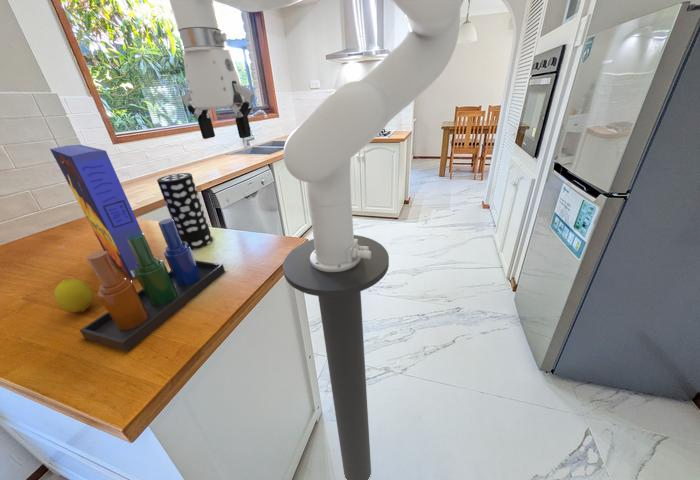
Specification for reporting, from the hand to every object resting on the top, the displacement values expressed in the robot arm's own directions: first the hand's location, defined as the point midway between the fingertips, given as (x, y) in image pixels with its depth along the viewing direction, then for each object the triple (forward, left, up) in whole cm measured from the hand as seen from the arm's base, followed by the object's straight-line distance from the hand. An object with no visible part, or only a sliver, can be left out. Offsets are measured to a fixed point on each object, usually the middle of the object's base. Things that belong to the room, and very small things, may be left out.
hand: (227, 137), depth 63 cm
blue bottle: (+9, +14, -30) cm, 34 cm away
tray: (+9, +21, -30) cm, 38 cm away
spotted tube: (+23, -3, -31) cm, 38 cm away
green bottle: (+9, +21, -30) cm, 37 cm away
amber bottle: (+9, +28, -30) cm, 42 cm away
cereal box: (+34, +10, -31) cm, 47 cm away
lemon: (+24, +28, -31) cm, 48 cm away
